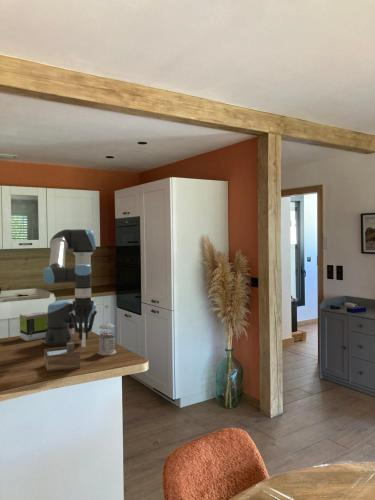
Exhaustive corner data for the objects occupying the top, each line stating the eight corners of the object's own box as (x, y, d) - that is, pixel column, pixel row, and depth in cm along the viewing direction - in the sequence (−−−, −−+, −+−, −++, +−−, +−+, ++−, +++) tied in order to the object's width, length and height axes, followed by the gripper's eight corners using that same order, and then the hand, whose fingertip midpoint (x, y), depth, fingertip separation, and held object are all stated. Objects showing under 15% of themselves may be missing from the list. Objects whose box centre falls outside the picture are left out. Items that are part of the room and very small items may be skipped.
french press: (119, 350, 219) (119, 303, 219) (109, 356, 208) (109, 307, 207) (102, 349, 222) (102, 303, 221) (92, 355, 211) (92, 306, 210)
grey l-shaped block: (46, 354, 193) (46, 343, 193) (72, 351, 199) (72, 340, 199) (50, 360, 184) (50, 348, 184) (77, 357, 190) (77, 345, 190)
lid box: (44, 365, 194) (44, 349, 194) (74, 361, 200) (74, 345, 200) (48, 372, 183) (48, 355, 183) (80, 368, 190) (80, 351, 190)
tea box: (43, 334, 256) (43, 310, 255) (51, 337, 249) (51, 312, 248) (19, 338, 245) (19, 313, 245) (26, 341, 238) (26, 316, 238)
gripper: (70, 298, 189) (71, 349, 190) (98, 297, 195) (99, 346, 196) (67, 296, 196) (67, 346, 196) (94, 295, 202) (94, 342, 203)
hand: (83, 346), depth 196 cm, fingers closed
